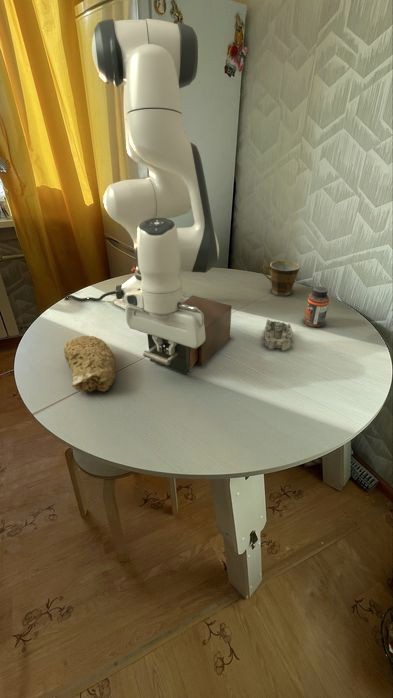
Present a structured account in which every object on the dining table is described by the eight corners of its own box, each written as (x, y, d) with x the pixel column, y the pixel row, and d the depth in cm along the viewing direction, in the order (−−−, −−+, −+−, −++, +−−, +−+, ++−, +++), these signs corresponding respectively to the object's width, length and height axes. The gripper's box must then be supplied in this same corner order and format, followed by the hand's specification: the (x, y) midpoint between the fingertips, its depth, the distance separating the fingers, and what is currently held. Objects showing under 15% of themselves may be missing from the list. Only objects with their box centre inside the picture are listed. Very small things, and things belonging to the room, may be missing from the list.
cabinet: (201, 366, 90) (201, 330, 84) (162, 352, 95) (159, 317, 90) (230, 338, 101) (231, 305, 95) (192, 327, 106) (192, 295, 100)
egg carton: (290, 352, 95) (292, 339, 92) (261, 348, 96) (263, 335, 94) (291, 332, 103) (293, 320, 101) (265, 329, 105) (267, 317, 103)
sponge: (121, 394, 83) (117, 337, 97) (110, 374, 77) (108, 316, 91) (66, 408, 83) (71, 348, 96) (51, 388, 77) (58, 328, 91)
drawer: (175, 385, 82) (174, 354, 77) (138, 370, 87) (134, 340, 82) (216, 347, 96) (217, 318, 91) (181, 335, 101) (180, 308, 96)
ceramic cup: (295, 287, 130) (299, 261, 124) (295, 299, 122) (300, 271, 116) (260, 284, 132) (262, 258, 127) (257, 295, 124) (260, 268, 119)
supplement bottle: (300, 319, 110) (306, 285, 103) (317, 317, 111) (324, 283, 104) (309, 329, 105) (316, 294, 98) (327, 326, 106) (335, 291, 100)
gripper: (210, 303, 74) (210, 358, 81) (136, 285, 84) (142, 336, 91) (194, 314, 70) (196, 371, 77) (118, 294, 79) (125, 347, 86)
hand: (166, 352), depth 84 cm, fingers closed, pressing on drawer
